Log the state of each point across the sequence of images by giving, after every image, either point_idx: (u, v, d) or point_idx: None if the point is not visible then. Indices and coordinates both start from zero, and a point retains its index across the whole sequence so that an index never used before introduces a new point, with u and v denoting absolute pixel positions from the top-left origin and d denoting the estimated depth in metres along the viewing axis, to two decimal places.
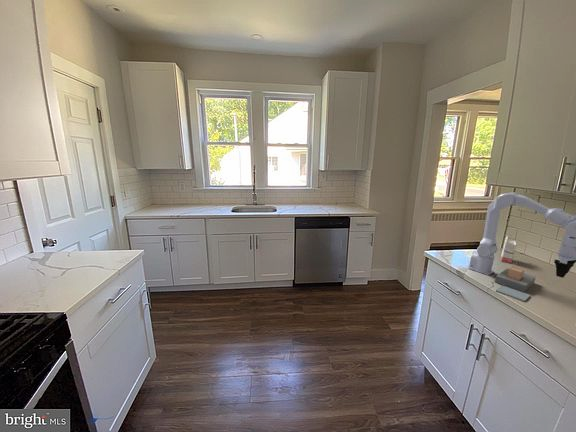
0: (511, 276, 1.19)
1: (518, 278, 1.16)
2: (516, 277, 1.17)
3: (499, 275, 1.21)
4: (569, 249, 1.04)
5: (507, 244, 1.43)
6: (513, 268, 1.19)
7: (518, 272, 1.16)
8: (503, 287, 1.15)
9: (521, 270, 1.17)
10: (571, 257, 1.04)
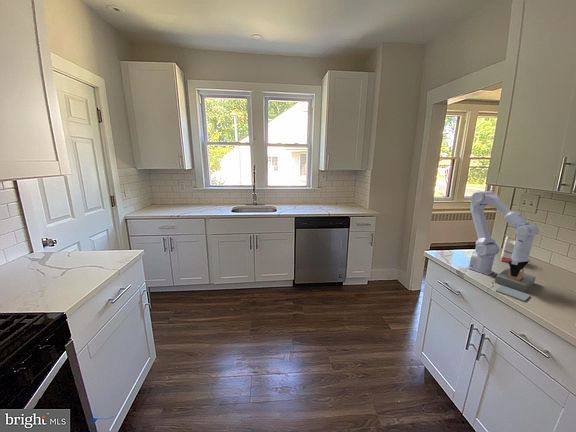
0: (511, 276, 1.19)
1: (518, 278, 1.16)
2: (516, 277, 1.17)
3: (499, 275, 1.21)
4: (520, 252, 1.14)
5: (507, 244, 1.43)
6: None
7: None
8: (503, 287, 1.15)
9: (521, 270, 1.17)
10: (522, 259, 1.14)
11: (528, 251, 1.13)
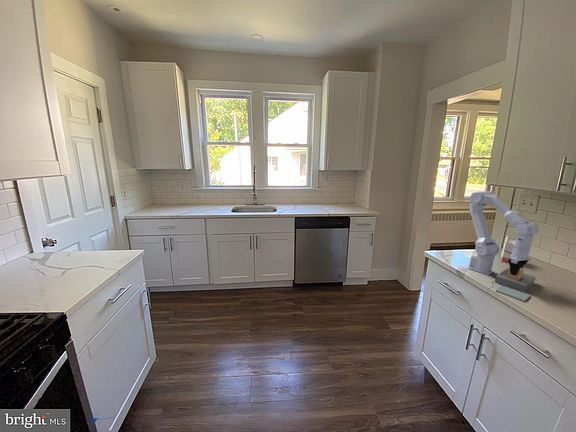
0: (510, 274, 1.19)
1: (518, 277, 1.16)
2: (516, 276, 1.17)
3: (499, 275, 1.21)
4: (520, 250, 1.14)
5: (507, 244, 1.43)
6: None
7: None
8: (503, 287, 1.15)
9: (521, 269, 1.17)
10: (521, 257, 1.14)
11: (528, 250, 1.13)
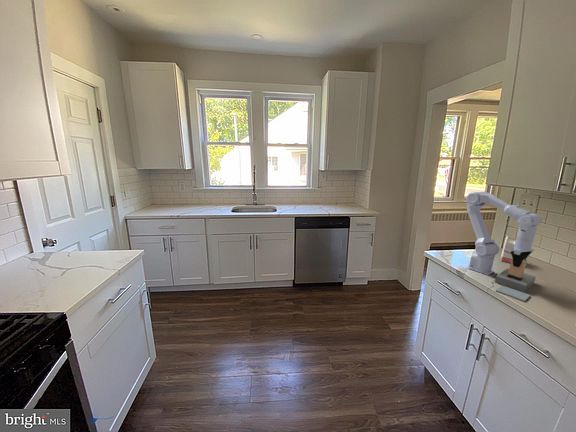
0: (513, 266, 1.17)
1: (521, 268, 1.15)
2: (519, 267, 1.16)
3: (499, 275, 1.21)
4: (523, 242, 1.13)
5: (507, 244, 1.43)
6: None
7: None
8: (503, 287, 1.15)
9: (524, 260, 1.16)
10: (524, 249, 1.13)
11: (531, 241, 1.12)
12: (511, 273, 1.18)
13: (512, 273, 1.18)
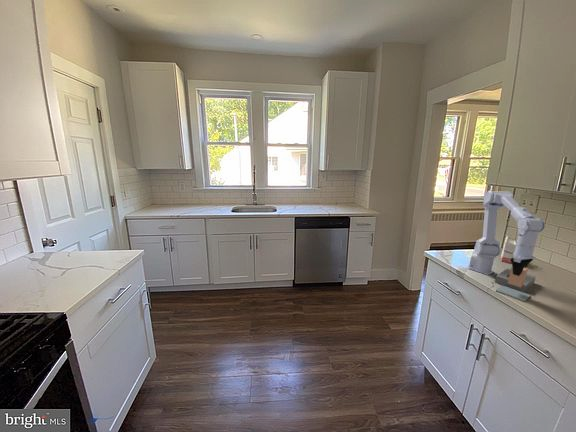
0: (513, 275, 1.08)
1: (521, 277, 1.06)
2: (519, 276, 1.07)
3: (499, 275, 1.21)
4: (524, 248, 1.04)
5: (507, 244, 1.43)
6: None
7: None
8: (503, 287, 1.15)
9: (524, 269, 1.07)
10: (525, 256, 1.04)
11: (532, 247, 1.03)
12: (511, 282, 1.09)
13: (512, 282, 1.09)
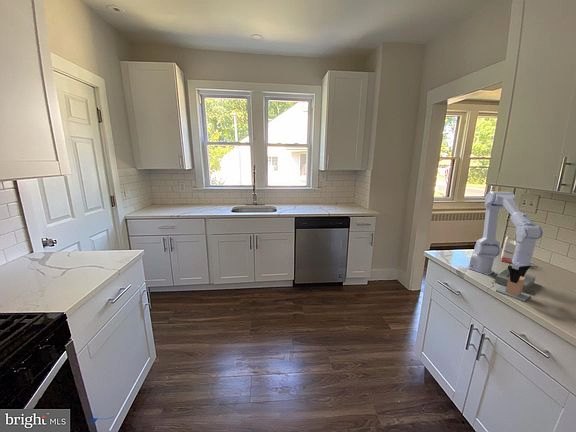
0: (511, 284, 1.09)
1: (519, 287, 1.07)
2: (516, 286, 1.08)
3: (499, 275, 1.21)
4: (522, 255, 1.05)
5: (507, 244, 1.43)
6: None
7: (519, 280, 1.07)
8: (503, 287, 1.15)
9: (522, 278, 1.08)
10: (523, 263, 1.05)
11: (530, 254, 1.04)
12: (508, 291, 1.10)
13: (509, 291, 1.10)
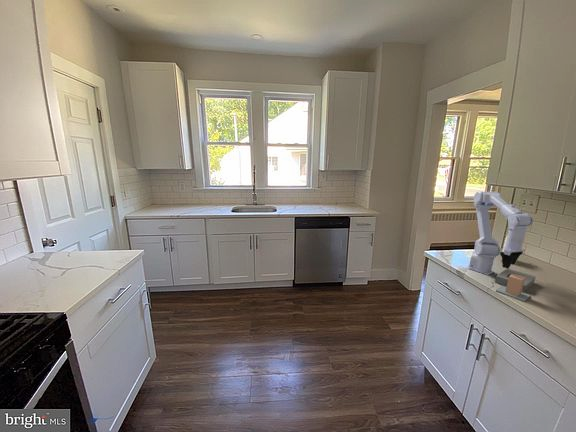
0: (511, 284, 1.09)
1: (519, 287, 1.07)
2: (516, 286, 1.08)
3: (499, 275, 1.21)
4: (513, 242, 1.11)
5: None
6: (513, 276, 1.10)
7: (519, 280, 1.07)
8: (503, 287, 1.15)
9: (522, 278, 1.08)
10: (515, 249, 1.11)
11: (521, 241, 1.10)
12: (508, 291, 1.10)
13: (509, 291, 1.10)
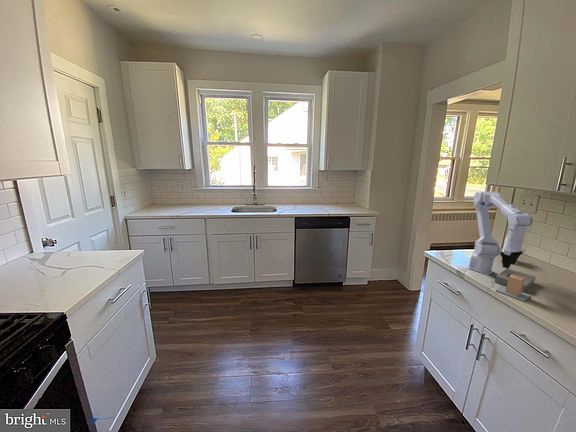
0: (511, 284, 1.09)
1: (519, 287, 1.07)
2: (516, 286, 1.08)
3: (499, 275, 1.21)
4: (513, 242, 1.11)
5: None
6: (513, 276, 1.10)
7: (519, 280, 1.07)
8: (503, 287, 1.15)
9: (522, 278, 1.08)
10: (515, 249, 1.11)
11: (521, 241, 1.10)
12: (508, 291, 1.10)
13: (509, 291, 1.10)
